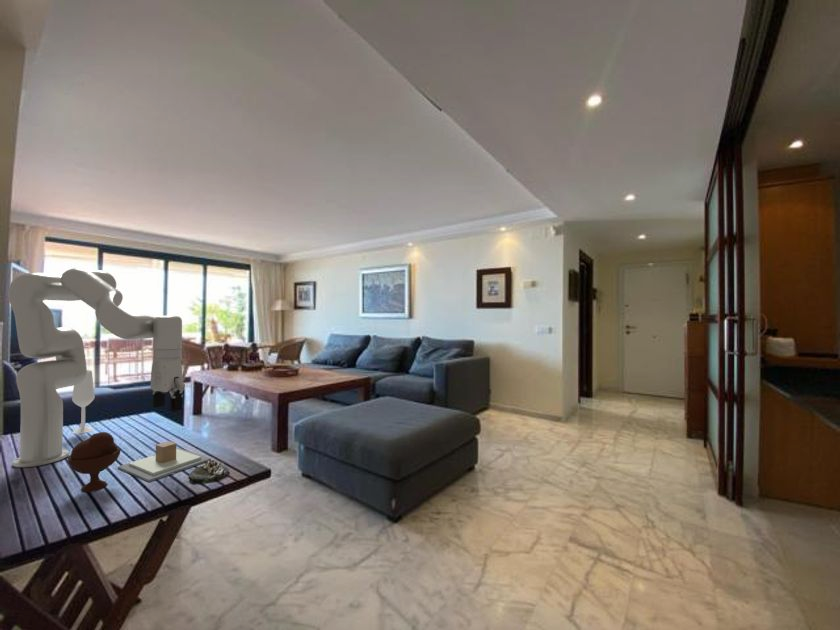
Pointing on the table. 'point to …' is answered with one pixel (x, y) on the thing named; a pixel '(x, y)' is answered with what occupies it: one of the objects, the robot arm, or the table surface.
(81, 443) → the ice cream bowl
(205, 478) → the grey green irregular lump
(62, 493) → the table surface
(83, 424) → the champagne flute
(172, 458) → the cover
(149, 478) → the mat
